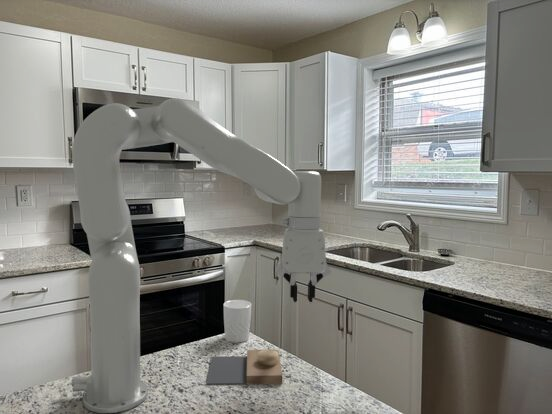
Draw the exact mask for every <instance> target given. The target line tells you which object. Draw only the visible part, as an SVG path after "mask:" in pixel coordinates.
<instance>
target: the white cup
mask: <svg viewBox="0 0 552 414" xmlns="http://www.w3.org/2000/svg"><path fill="white" fill-rule="evenodd" d="M251 317H252V302H250V301H248V300H244V299H232V300H228V301H225V302H224V303H223V326H224V339H225V340H226V342H231V343H235V344H236V343H243V342H246V341H248V340H249V339H250V328H251V327H250V326H251Z"/></svg>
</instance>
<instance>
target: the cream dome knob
mask: <svg viewBox="0 0 552 414" xmlns="http://www.w3.org/2000/svg"><path fill="white" fill-rule="evenodd" d="M260 350H261V351H259V352H258V360H257V362H258V364H259V365H262V366H274V365H277V364H278V352H277V351H274V350H275V349H260Z"/></svg>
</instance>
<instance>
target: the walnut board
mask: <svg viewBox="0 0 552 414" xmlns="http://www.w3.org/2000/svg"><path fill="white" fill-rule="evenodd" d="M261 350H262V349H246V356H247V384H246V385H283V369H282V363H281V358H280V351H279V349H273V350H274V351H277V352H278V364H277V365H274V366H262V365H259V364H258V362H257V360H258V352H259V351H261Z"/></svg>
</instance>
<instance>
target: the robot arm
mask: <svg viewBox="0 0 552 414" xmlns="http://www.w3.org/2000/svg"><path fill="white" fill-rule="evenodd" d="M169 143H175V145H177V146H179V148H182V149H184V150H185V151H186V152H188V153H189V154H191V155H193V156H194V157H196V158H197V159H199V160H200V161H201V162H204V163H205V164H206V165H207V166H209V167H211V168H212V169H214V170H215V171H216V170H217V171H218V172H220V173H223V174H226V175H227V174H228V175H229V176H232V177H235V178H236V179H238V180H241V181H242V182H245V183H246V184H248V185H250V186H251V187H253V190H254V193H255V194H256V195H257V197H258V198H259V199H260V200H262V201H264V202H269V203H273V204H276V205H288V208H287V209H288V213H287V214H288V216H287V217H286V218H281V219H282V220H281V225H285V226H286V227H287V228H285V230H284V234H283V242H282V248H281V249H282V252H281V259H280V260H279V263H278V264H277V267H276V269H275V274H276V275H278V276H280V277H282V278H284V279H285V281H286V282H288V283H289V284H290V287H289V288H290V289H289V293H290V294H289V295H290V296H289V297H290V298H292V301H293V303H297V302H298V285H297V279H296V278H297V274H309V281H308V283H307V300H308V302H309V303H313V298H316V285H317V284H318V283H319V282H320V281H321V280H322V279H323V278H324V277H326V276H328V275H330V274H331V273H332V271H331V269H330V267H329V265H328V263H327V251H326V239H325V233H324V232H325V231H324V230H323V229H321V211H322V210H321V204H322V203H321V202H322V198H321V197H322V176H321V174H320V172H317V171H313V170H311V171H310V170H309V171H307V170H306V171H305V170H304V171H303V170H302V171H301V170H300V171H299V170H298V171H297V170H295V171H293V170H291V169H290V168H289V167H287V166H286V165H284V164H283V163H282V162H280V161H279V160H277V159H276V158H274V157H273V156H271V155H270V154H268V152H267V153H266V152H265V151H263V150H261V149H259V148H258V147H256V146H254V145H253V144H251V143H249V142H247V141H246V140H244V139H243V138H240V137H238V136H237V135H235V134H233V133H232V132H230V131H229V130H228V129H226V128H224V127H223V126H221V125H220V124H219V123H217V122H216V121H215V120H213V119H212V118H211V117H209V116H207V115H206V114H205V113H203V112H202V111H200V110H199V109H197V107H195V106H193V105H192V104H191V103H189V102H187V101H185V100H183V99H180V98H177V97H176V98H175V97H174V98H168V99H166V100H165V101H163V102H162V103H160V105H156V106H155V105H154V106H149V107H148V106H147V107H142V108H141V107H140V108H131V107H130V106H129V105H128V106H127V105H125V104H122V103H117V102H114V103H109V104H104V105H102V106H100V107H99V108H97V109H95V110H94V111H93V112H92V113H91V112H90V114H88V116H87V117H86V118H85V119H83V121H82V122H81V124H80V125H79V127H78V128H77V131H76V133H75V135H74V139H73V142H72V152H71V155H72V156H71V157H72V164H73V165H72V166H73V173H74V179H75V187H76V192H77V193H76V194H77V199H78V204H79V210H80V211H79V214H80V224H81V227H82V229H83V231H84V232H85V233H86V238H87V242H88V248H89V254H90V258H91V261H90V264H89V269H88V276H87V277H88V278H87V279H88V281H87V283H88V298H89V299H88V300H89V326H90V327H89V328H90V364H91V365H90V367H91V368H90V371H91V374H89V375H88V376H86V377H85V376H73V377H72V379H71V383H70V385H71V386H72V391H73V392H84V395H83V396H82V397H83V399H82V401H83V402H82V403H83V406H84V407H85V408H86V409H87V410H88V411H91V412H94V413H97V414H113V413H114V414H115V413H119V412H120V413H121V412H124V411H127V410H130V409H133V408H135V407H137V406H138V405H140V404H141V403H143V402H144V401H145V400H146V398H147V397H148V395H149V387H148V385H147V383H146V382H144V381H143V380H141V324H140V323H141V322H140V318H141V317H140V307H141V305H140V304H141V303H140V302H141V301H140V297H141V296H140V295H141V294H140V292H141V291H140V290H141V267H140V263H139V259H138V253H137V249H136V243H135V238H134V237H135V236H134V231H133V226H132V218H131V212H130V208H129V205H128V204H127V201H126V197H125V192H124V185H123V179H122V172H121V171H122V170H121V165H120V163H121V162H120V157H121V153H122V150H123V151H124V150H125V151H126V150H130V149H137V148H144V147H150V146H157V145H158V146H159V145H164V144H169Z"/></svg>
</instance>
